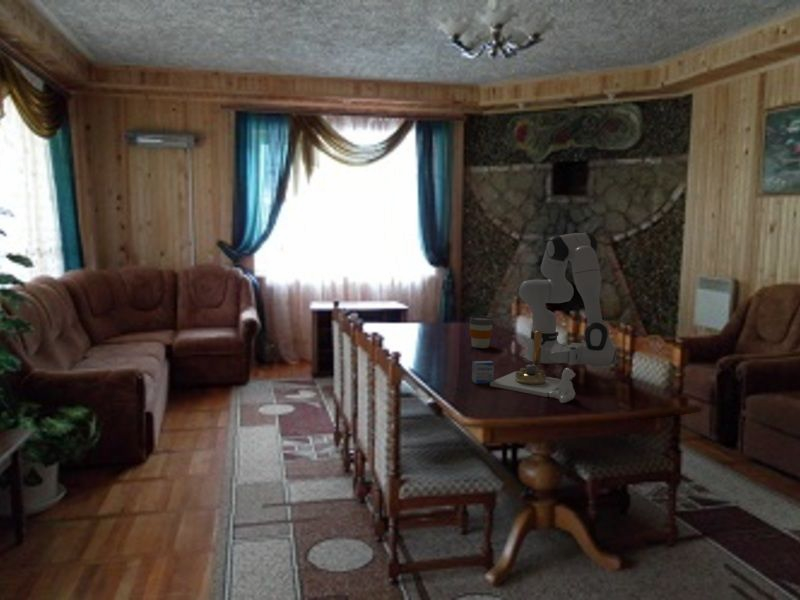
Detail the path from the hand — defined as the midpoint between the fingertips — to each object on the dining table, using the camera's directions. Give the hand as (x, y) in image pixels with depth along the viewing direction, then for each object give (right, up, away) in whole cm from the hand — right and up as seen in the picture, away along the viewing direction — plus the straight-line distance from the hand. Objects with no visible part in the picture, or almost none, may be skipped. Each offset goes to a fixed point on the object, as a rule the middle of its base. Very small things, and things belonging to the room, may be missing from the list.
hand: (540, 350), depth 260 cm
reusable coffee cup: (-17, -3, +65) cm, 67 cm away
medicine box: (-26, -13, -9) cm, 30 cm away
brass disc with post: (-5, -11, -7) cm, 14 cm away
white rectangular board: (-7, -13, -11) cm, 19 cm away
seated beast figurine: (+2, -16, -30) cm, 34 cm away
